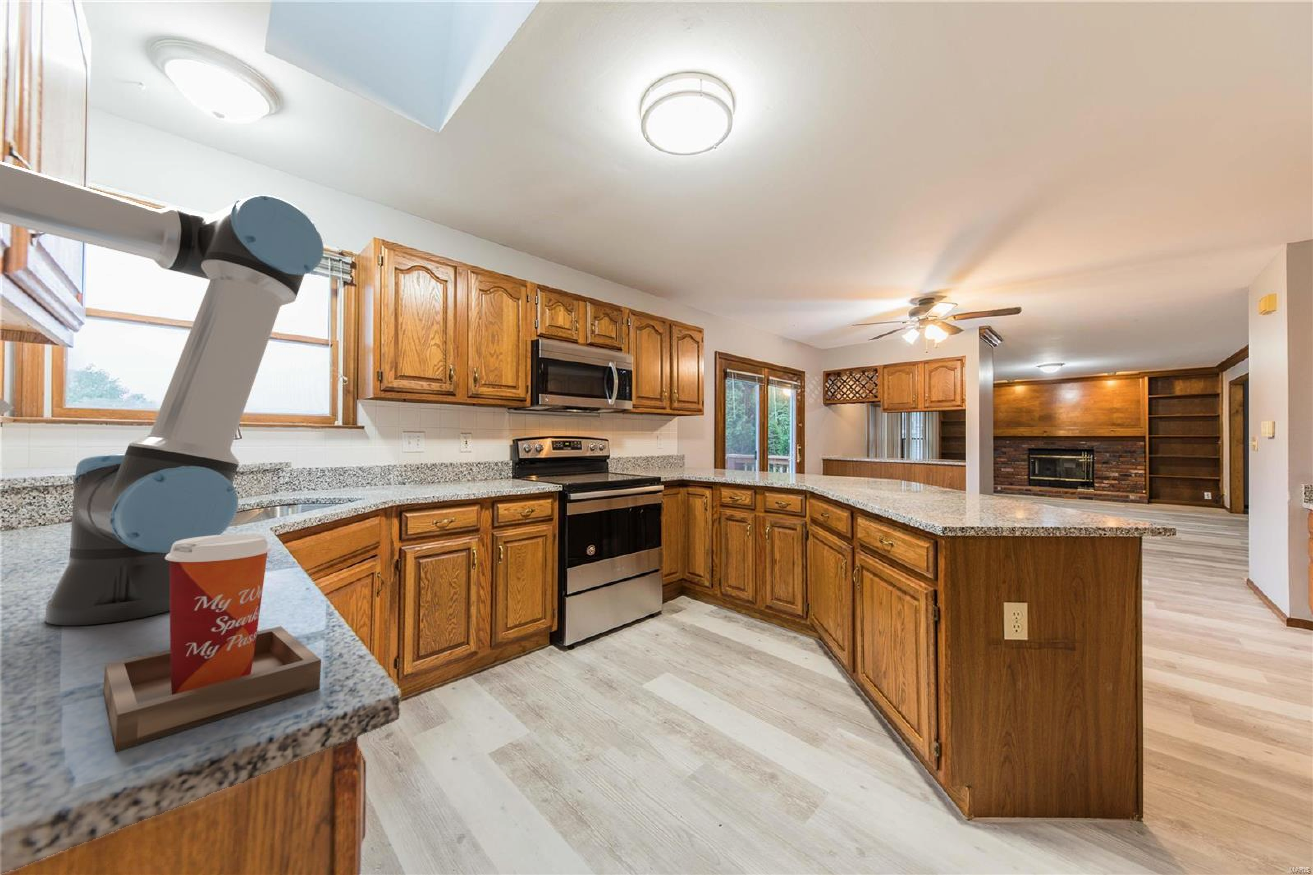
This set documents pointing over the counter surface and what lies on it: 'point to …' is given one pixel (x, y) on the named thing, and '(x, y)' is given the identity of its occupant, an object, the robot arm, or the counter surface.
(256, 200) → the robot arm
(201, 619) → the coffee cup
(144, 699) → the walnut tray
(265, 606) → the counter surface
